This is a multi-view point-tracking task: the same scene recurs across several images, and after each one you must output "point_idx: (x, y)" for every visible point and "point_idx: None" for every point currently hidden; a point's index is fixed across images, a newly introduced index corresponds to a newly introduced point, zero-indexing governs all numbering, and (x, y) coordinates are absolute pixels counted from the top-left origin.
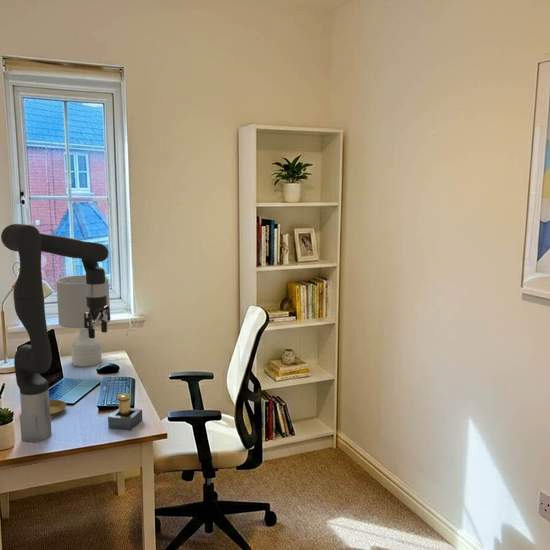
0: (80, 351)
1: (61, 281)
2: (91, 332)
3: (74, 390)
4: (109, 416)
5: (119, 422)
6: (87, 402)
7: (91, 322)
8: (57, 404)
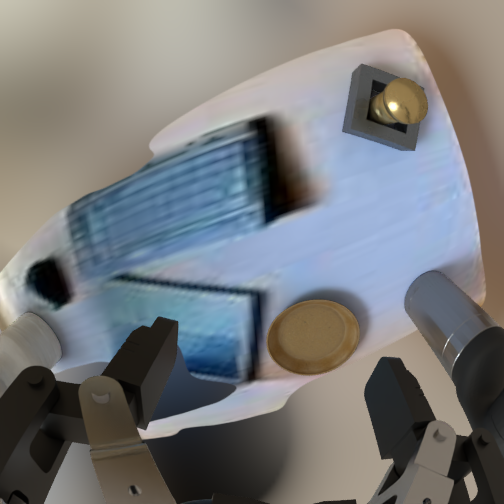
0: (41, 362)
1: None
2: (427, 405)
3: None
4: (414, 146)
5: None
6: (242, 263)
7: (489, 479)
8: (275, 327)
